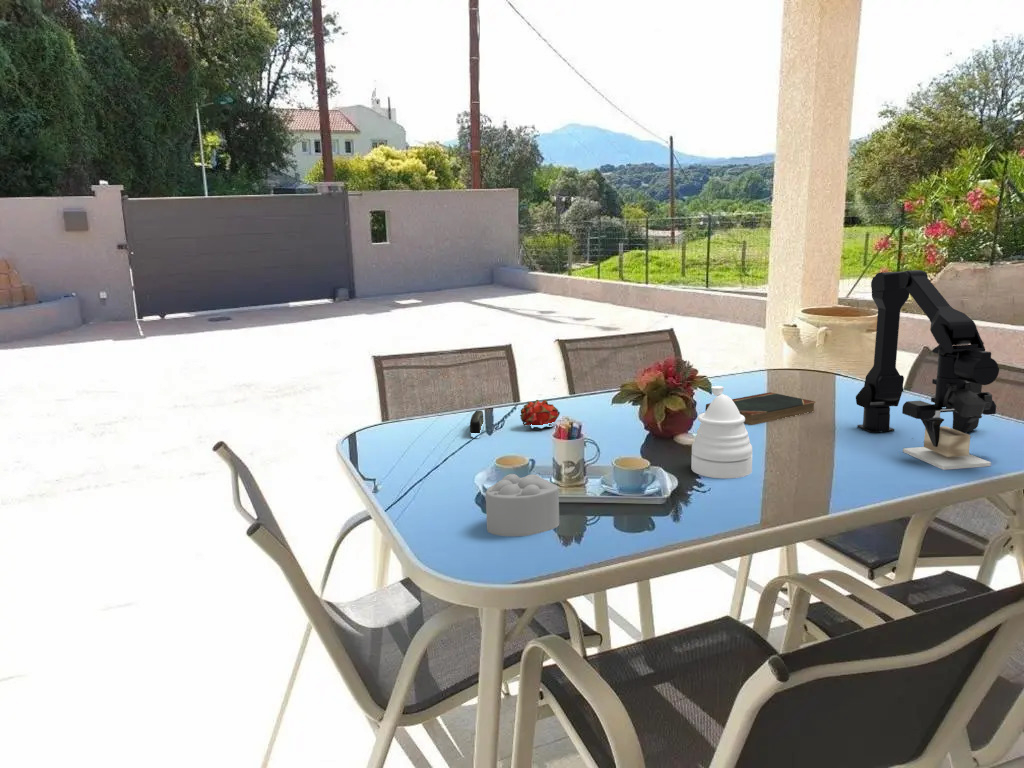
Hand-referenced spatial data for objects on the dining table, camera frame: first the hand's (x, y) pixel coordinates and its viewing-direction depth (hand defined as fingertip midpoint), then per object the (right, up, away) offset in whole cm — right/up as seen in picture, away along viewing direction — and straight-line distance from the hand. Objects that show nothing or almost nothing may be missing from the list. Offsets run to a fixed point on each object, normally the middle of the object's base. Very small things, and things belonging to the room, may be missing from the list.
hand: (946, 445), depth 176 cm
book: (-26, +5, +48) cm, 54 cm away
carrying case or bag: (+15, +1, +20) cm, 26 cm away
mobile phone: (-105, +1, +37) cm, 111 cm away
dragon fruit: (-88, +2, +39) cm, 96 cm away
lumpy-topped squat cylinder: (-94, -12, -30) cm, 100 cm away
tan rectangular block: (0, -1, 0) cm, 1 cm away
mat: (0, -3, +1) cm, 3 cm away
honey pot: (-50, -5, -2) cm, 50 cm away
